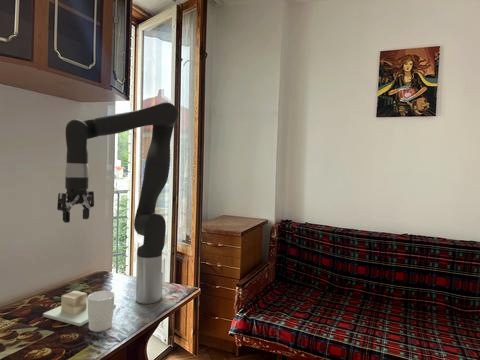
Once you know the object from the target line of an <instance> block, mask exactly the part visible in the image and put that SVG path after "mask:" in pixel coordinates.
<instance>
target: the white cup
mask: <svg viewBox="0 0 480 360" xmlns="http://www.w3.org/2000/svg"><path fill="white" fill-rule="evenodd" d="M87 301H88V320H89V322H88V330H90V331H92V332H95V333H96V332H98V333H99V332H104V331H107V330H109V329H111V327H112V326H113V317H114V309H115V308H114V304H115V293H114V292H112V291H111V290H109V291H108V290H99V291H94V292H91V293H90V294H87Z"/></svg>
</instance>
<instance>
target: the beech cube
mask: <svg viewBox="0 0 480 360" xmlns="http://www.w3.org/2000/svg"><path fill="white" fill-rule="evenodd" d="M87 297H88V293H87V292H84V291H83V292H82V291H79V290H73V291H70V292H68V293H65V294H63V295H61V297H60V299H61V301H60V302H61V303H60V306H61V312H63V313H67V314H71V315H75V314H77V313H79V312H81V311H83V310H85V309H87Z"/></svg>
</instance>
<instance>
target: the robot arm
mask: <svg viewBox="0 0 480 360" xmlns="http://www.w3.org/2000/svg"><path fill="white" fill-rule="evenodd" d="M178 117H179V110H178V109H177V106H175V105H174V104H173V103H171V102H167V101H163V102H161V103H157V104H155V105H151V106H147V107H144V108H141V109H137V110H132V111H126V112H121V113H113V114H108V115H102V116H98V117H95V118H94V119H85V120H80V119H77V118H75V119H72V120H70V121H68V122H67V124H66V125H65V142H66V144H65V145H66V163H65V174H64V175H65V183H64V184H65V186H64V188H65V190H66V192H65V193H64V192H59V193H58V195H57V211H61V212H62V221H63V223H66V224H68V223H70V222H71V221H70V220H71V218H70V217H71V212H70V211H71V209H72V208H73V207H74V206H75V205H80V206H81V207H82V208H83V209H82V219H83V220H89V218H90V209H91V208H94V206H95V194H94V191H92V190H88V189H89V178H90V177H89V172H90V170H89V149H88V147H87V145H88V140H89V139H93V138H98V137H102V136H110V135H116V134H121V133H124V132H128V131H130V130H131V131H132V130H134V129H138V128H141V127H148V126H152V134H151V140H150V143H149V144H150V145H149V146H148V151H147V154H146V159H145V163H144V171H143V177H142V178H143V179H142V183H141V190H140V196H139V200H138V204H137V208H136V212H135V216H134V221H133V227H134V230H135V232H136V233H137V234H138V235H140V236H143V243H142V245H139V246H138V247H137V249H136V278H135V279H136V285H135V286H136V288H135V301H136V302H137V303H139V304H142V305H150V304H155V303H158V302H159V301H160V300H161V299H162V297H163V274H164V273H163V272H162V271H163V269H162V268H163V267H162V266H163V250H164V249H165V243H166V231H167V230H166V229H167V227H166V226H167V225H166V223H167V222H166V220H165V217H164V216H163V215H162V214H159V213H157V212H156V205H157V202H158V201H157V200H158V199H159V196H160V194H161V193H162V191H163V190H164V188H165V186H166V184H167V182H168V179H169V174H170V169H171V168H170V167H171V140H172V135H173V131H174V129H175V124H176V123H177V120H178Z"/></svg>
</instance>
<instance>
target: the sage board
mask: <svg viewBox="0 0 480 360" xmlns="http://www.w3.org/2000/svg"><path fill="white" fill-rule="evenodd" d="M116 307H117V305H116V303H114V309H115V308H116ZM42 317H43V318H48V319H50V320H55V321H59V322H63V323H66V324H70V325H74V326H77V327H81V326H84V325H85V324H87V323H89V320H88V301H87V309H85V310H83V311H81V312H79V313H77V314H75V315H71V314H67V313H63V312H61V305H59V306H57V307H55V308H52V309H50V310H47V311H45V312H43V313H42Z"/></svg>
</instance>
